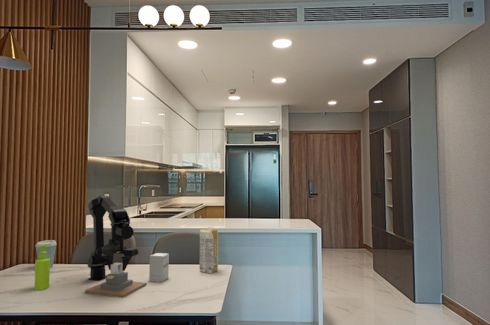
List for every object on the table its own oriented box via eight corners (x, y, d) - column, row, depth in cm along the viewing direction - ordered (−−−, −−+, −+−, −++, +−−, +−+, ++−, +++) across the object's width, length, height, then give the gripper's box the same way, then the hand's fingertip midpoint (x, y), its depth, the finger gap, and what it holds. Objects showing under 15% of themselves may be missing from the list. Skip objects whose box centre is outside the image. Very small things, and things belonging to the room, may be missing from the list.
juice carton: (219, 270, 194) (219, 227, 195) (210, 274, 187) (211, 228, 188) (206, 268, 199) (206, 225, 200) (197, 271, 192) (197, 227, 193)
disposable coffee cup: (49, 270, 194) (50, 243, 195) (30, 270, 194) (31, 242, 195) (59, 265, 205) (60, 239, 205) (41, 265, 205) (42, 239, 206)
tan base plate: (84, 293, 155) (84, 277, 156) (110, 281, 173) (110, 267, 173) (123, 297, 150) (124, 280, 150) (146, 285, 167) (146, 270, 168)
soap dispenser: (53, 286, 165) (55, 243, 166) (41, 290, 159) (42, 246, 160) (44, 285, 167) (45, 242, 168) (31, 289, 161) (32, 245, 162)
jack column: (110, 286, 160) (110, 264, 161) (115, 284, 164) (116, 262, 164) (117, 287, 159) (118, 265, 159) (123, 284, 163) (123, 263, 163)
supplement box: (162, 282, 172) (163, 256, 173) (148, 281, 174) (149, 255, 174) (168, 278, 180) (169, 253, 180) (155, 277, 181) (155, 252, 182)
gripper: (88, 238, 157) (87, 273, 157) (124, 240, 152) (124, 276, 152) (104, 234, 168) (104, 267, 167) (139, 236, 163) (138, 270, 162)
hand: (117, 270), depth 162 cm, fingers open, 7 cm apart
